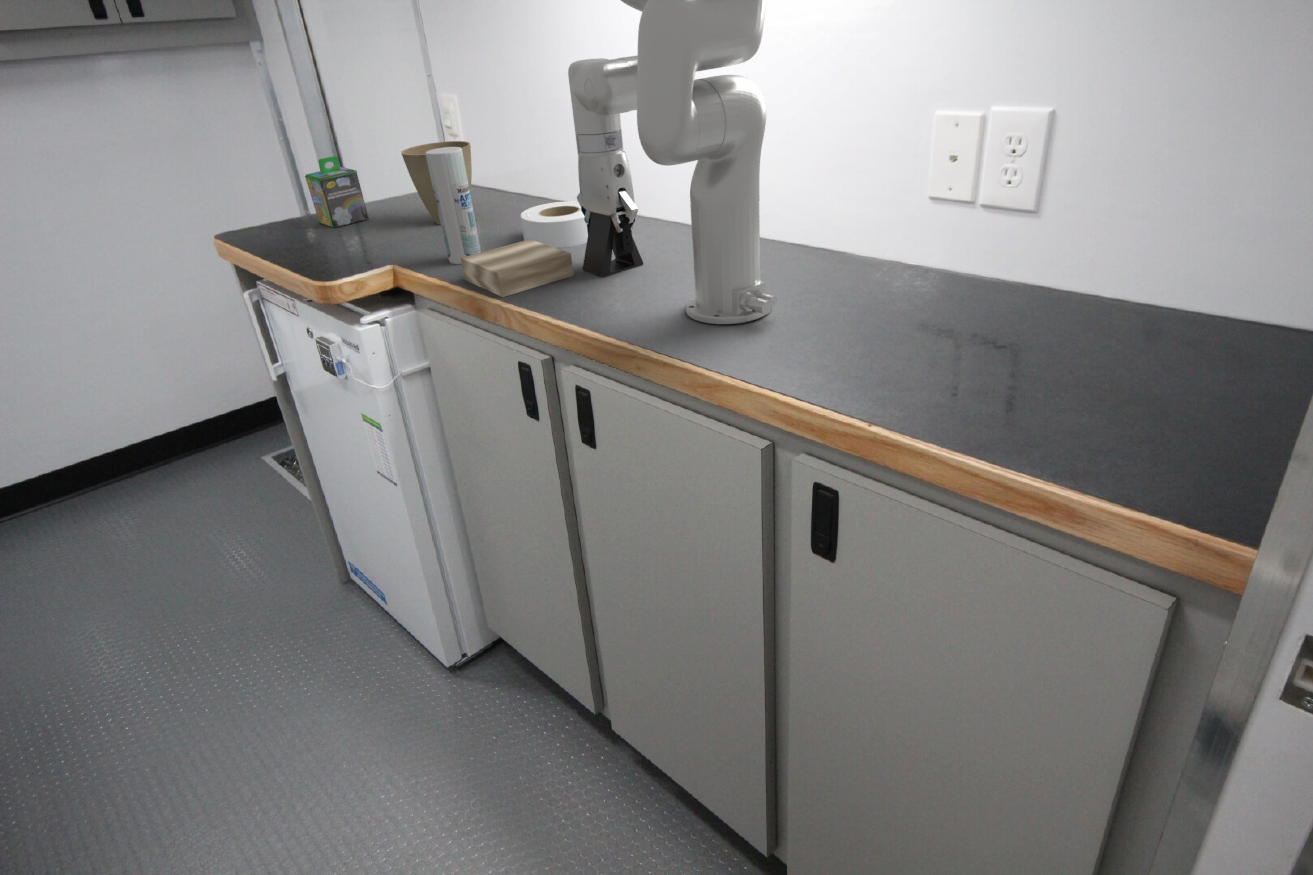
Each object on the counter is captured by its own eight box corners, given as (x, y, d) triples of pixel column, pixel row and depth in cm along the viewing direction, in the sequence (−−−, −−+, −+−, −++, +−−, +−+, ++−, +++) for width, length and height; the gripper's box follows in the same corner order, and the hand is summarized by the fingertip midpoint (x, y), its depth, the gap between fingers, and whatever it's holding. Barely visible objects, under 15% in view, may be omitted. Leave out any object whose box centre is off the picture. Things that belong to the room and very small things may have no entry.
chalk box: (354, 215, 194) (337, 151, 186) (370, 219, 188) (353, 154, 180) (317, 223, 188) (298, 159, 181) (333, 229, 182) (314, 162, 175)
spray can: (456, 254, 155) (434, 147, 145) (487, 253, 154) (467, 146, 144) (442, 264, 149) (418, 154, 140) (474, 264, 148) (452, 152, 138)
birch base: (573, 275, 137) (570, 253, 135) (502, 297, 130) (498, 273, 128) (533, 260, 147) (529, 239, 145) (464, 279, 140) (460, 257, 138)
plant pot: (416, 218, 185) (399, 147, 177) (479, 209, 188) (466, 138, 180) (419, 233, 172) (402, 157, 165) (487, 222, 176) (473, 147, 168)
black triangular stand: (601, 278, 135) (593, 207, 129) (582, 271, 139) (573, 202, 133) (643, 265, 139) (637, 196, 134) (624, 258, 144) (617, 191, 138)
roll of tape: (616, 236, 158) (613, 208, 155) (546, 254, 151) (542, 225, 148) (578, 223, 170) (574, 197, 167) (511, 239, 162) (507, 212, 160)
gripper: (650, 143, 125) (658, 253, 133) (589, 135, 137) (600, 236, 146) (611, 151, 121) (622, 264, 130) (552, 142, 133) (566, 245, 142)
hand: (611, 248), depth 138 cm, fingers open, 7 cm apart
